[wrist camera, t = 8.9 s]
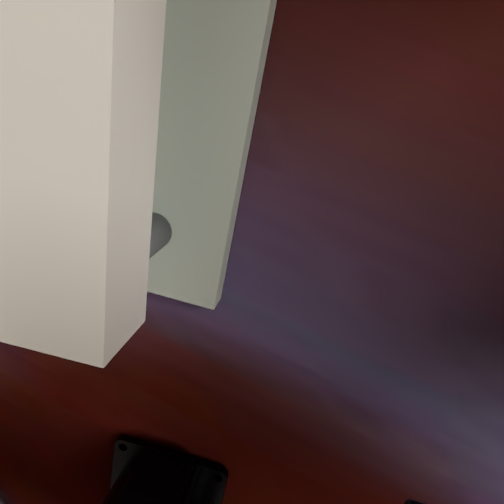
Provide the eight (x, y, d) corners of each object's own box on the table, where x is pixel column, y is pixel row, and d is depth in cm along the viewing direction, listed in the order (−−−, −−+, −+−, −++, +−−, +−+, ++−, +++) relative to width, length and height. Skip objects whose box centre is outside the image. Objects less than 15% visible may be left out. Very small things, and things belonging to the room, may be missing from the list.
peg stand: (220, 298, 21) (183, 359, 17) (29, 246, 23) (-58, 288, 18) (311, -185, 15) (293, -317, 10) (33, -222, 16) (-103, -356, 11)
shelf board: (145, 321, 16) (103, 368, 14) (-4, 285, 17) (-72, 323, 14) (184, -274, 11) (125, -404, 8) (-43, -285, 11) (-169, -405, 9)
